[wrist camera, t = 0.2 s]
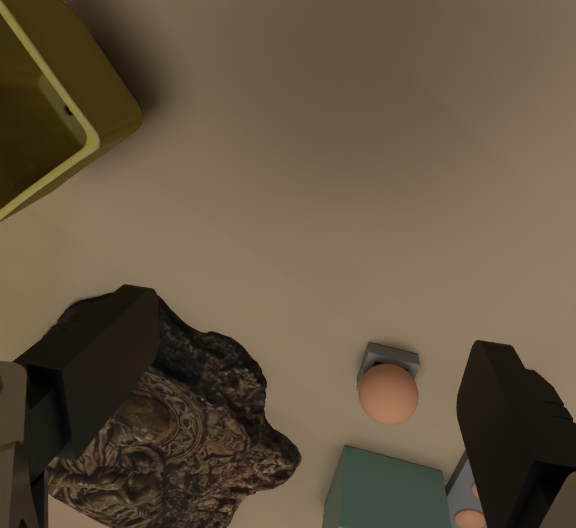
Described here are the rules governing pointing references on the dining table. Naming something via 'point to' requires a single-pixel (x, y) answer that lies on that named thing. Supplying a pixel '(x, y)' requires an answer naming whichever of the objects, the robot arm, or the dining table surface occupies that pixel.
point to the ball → (388, 394)
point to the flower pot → (54, 101)
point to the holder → (388, 359)
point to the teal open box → (385, 494)
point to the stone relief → (179, 438)
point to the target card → (464, 498)
